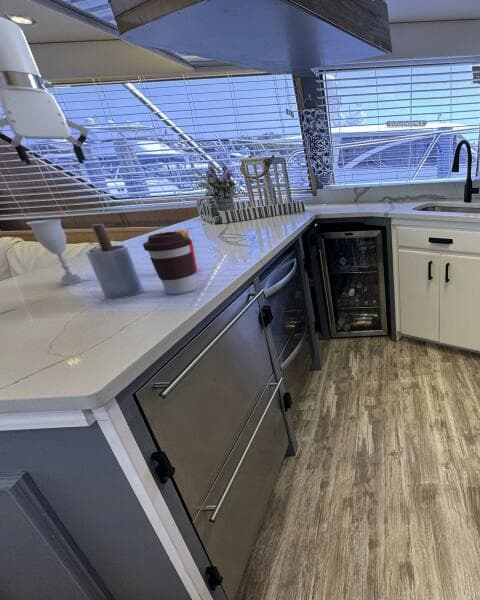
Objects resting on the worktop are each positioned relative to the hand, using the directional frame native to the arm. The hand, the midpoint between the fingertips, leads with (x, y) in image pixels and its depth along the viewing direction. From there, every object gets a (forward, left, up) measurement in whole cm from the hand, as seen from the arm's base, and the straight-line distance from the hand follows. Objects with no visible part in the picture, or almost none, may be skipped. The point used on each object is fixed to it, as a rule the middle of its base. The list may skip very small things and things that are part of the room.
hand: (56, 163), depth 82 cm
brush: (+2, -16, -32) cm, 36 cm away
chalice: (-7, +10, -32) cm, 35 cm away
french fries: (+18, -8, -32) cm, 38 cm away
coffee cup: (+13, -27, -32) cm, 44 cm away
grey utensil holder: (+2, -16, -32) cm, 36 cm away
